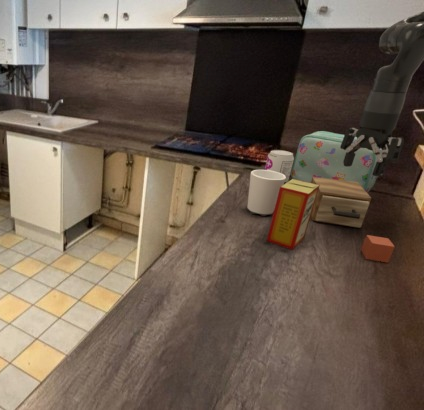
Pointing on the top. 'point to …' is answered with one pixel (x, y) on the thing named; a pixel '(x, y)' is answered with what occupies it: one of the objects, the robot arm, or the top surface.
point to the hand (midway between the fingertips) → (361, 170)
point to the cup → (264, 191)
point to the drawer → (342, 210)
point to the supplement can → (280, 162)
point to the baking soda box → (292, 213)
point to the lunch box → (332, 160)
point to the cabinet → (337, 192)
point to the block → (377, 248)
